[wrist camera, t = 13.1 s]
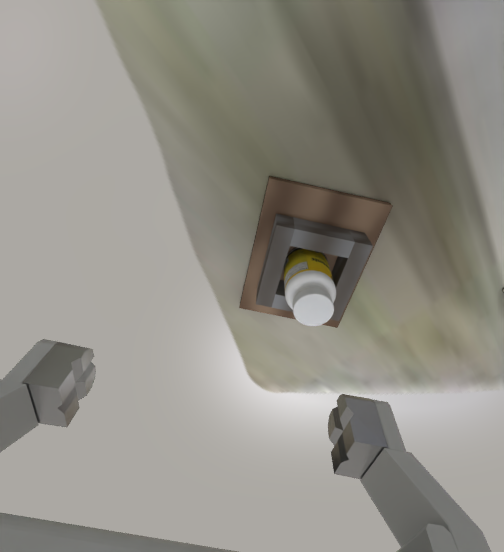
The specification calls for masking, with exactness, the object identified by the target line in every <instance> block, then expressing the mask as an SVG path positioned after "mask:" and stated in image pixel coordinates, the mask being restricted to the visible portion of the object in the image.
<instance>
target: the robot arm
mask: <svg viewBox="0 0 504 552" xmlns="http://www.w3.org/2000/svg"><path fill="white" fill-rule="evenodd" d="M93 357H94V354H93V350H92V349H90V348H85V347H80V346H76V345H71V344H66V343H61V342H56V341H51V340H45V339H43V340H41V341H39V342H37V343H36V345H34V347H33V348H32V349H31V350H30V351H29V352H28V353H27V354H26V355H25V356H24V357H23V358H22V360H20V362H19V363H18V364H17V365H16V366H15V367H14V368H13V369H12V370H11V371H10V372H9V373H8V374H7V375H6V377H5V378H4V379H3V380H1V379H0V452H1V451H3V450H4V449H6V448H7V447H8V446H10V445H11V444H12V443H14V442H15V441H17V440H18V439H19V438H21V437H22V436H23V435H25V434H26V433H28V432H29V431H30V430H32V429H33V428H35V427H36V426H38V423H41V424H48V425H55V426H62V427H68V425H69V424H70V422H71V420H72V418H73V417H74V416H75V414H76V412H77V410H78V409H79V403H78V400H80V399H82V398H83V397H85V396H87V394H88V393H89V391H90V389H91V388H92V384H93V382H94V379H95V374H96V369H95V366H94V364H93V363H92V362H91V360H92V359H93ZM337 405H338V407H336V408H334V409H332V411H331V413H330V416H329V422H328V434H329V439H330V440H331V442H332V443H333V444H334V448H333V450H332V452H331V456H332V462H333V469H334V474H337V475H342V476H348V477H352V478H358V479H361V483H362V484H363V486H364V488H365V489H366V491H367V492H368V494H369V496H370V497H371V499H372V501H373V502H374V504H375V505H376V507H377V509H378V510H379V512H380V514H381V515H382V517H383V518H384V520H385V522H386V523H387V525H388V526H389V528H390V530H391V531H392V533H393V535H394V536H395V538H396V539H397V541H398V543H399V544H400V546H401V548H400V549H399V550H398V551H397V552H491V550H490V548H489V546H488V544H487V541H486V539H485V537H484V535H483V532H482V531H481V530H480V529H479V527H478V526H477V525H476V524H475V523H474V522H473V521H472V520H471V519H470V517H469V516H468V515H467V514H466V513H465V512H464V511H463V510H462V509H461V507H460V506H459V505H457V503H456V502H455V501H454V500H453V499H452V498H451V496H450V495H449V494H448V493H447V492H446V491H445V490H444V489H443V488H442V486H441V485H440V484H439V483H438V482H437V481H436V480H435V479H434V478H433V476H431V474H430V473H429V472H428V471H427V470H426V469H425V468H424V467H423V465H421V463H420V462H419V461H418V460H417V459H416V458H415V457H414V455H413V454H412V453H410V452H406V449H405V447H404V444H403V441H402V438H401V435H400V433H399V429H398V427H397V424H396V421H395V418H394V415H393V412H392V410H391V407H390V405H389V404H388V402H383V401H377V400H371V399H368V398H362V397H356V396H350V395H345V394H342V395H340V396H339V398H338V400H337ZM0 552H237V551H231V550H225V549H218V548H212V547H206V546H200V545H194V544H188V543H182V542H176V541H170V540H164V539H158V538H152V537H145V536H139V535H133V534H127V533H121V532H115V531H109V530H103V529H97V528H90V527H85V526H79V525H72V524H66V523H60V522H54V521H48V520H42V519H36V518H30V517H24V516H17V515H12V514H5V513H0Z"/></svg>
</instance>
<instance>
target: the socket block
mask: <svg viewBox="0 0 504 552" xmlns="http://www.w3.org/2000/svg"><path fill="white" fill-rule="evenodd" d="M391 208H392V205H391V204H390V203H388V202H383V201H379V200H374V199H370V198H365V197H361V196H356V195H352V194H347V193H343V192H339V191H334V190H330V189H325V188H321V187H316V186H312V185H307V184H303V183H298V182H294V181H289V180H285V179H281V178H276V177H272V176H269V179H268V184H267V188H266V193H265V197H264V201H263V206H262V210H261V215H260V219H259V223H258V228H257V232H256V236H255V241H254V245H253V250H252V254H251V258H250V263H249V267H248V271H247V276H246V280H245V285H244V289H243V293H242V298H241V302H240V308H243V309H248V310H253V311H258V312H262V313H267V314H272V315H277V316H282V317H287V318H292V319H296V318H295V316H294V314H293V310H292V309H291V308H290V307H289V305H288V303H287V301H286V298H285V285H284V264H285V260H286V257H287V255H288V253H289V252H290V251H292V250H293V249H295V248H297V247H298V248H303V249H307V250H312V251H317V252H321V253H324V255H325V256H326V258H327V261H328V264H329V268H330V271H331V274H332V277H333V281H334V283H335V288H336V298H335V301H334V303H333V305H334V312H333V315H332V317H331V318H330V319H329V320H328V321H327V322H326V323H324V324H322V325H327V326H332V327H338V325H339V323H340V321H341V319H342V316H343V314H344V312H345V310H346V308H347V305H348V303H349V301H350V299H351V297H352V294H353V292H354V290H355V288H356V286H357V283H358V281H359V279H360V277H361V275H362V272H363V270H364V268H365V266H366V264H367V261H368V259H369V257H370V255H371V253H372V250H373V248H374V246H375V244H376V242H377V239H378V237H379V235H380V233H381V230H382V228H383V226H384V224H385V222H386V219H387V217H388V215H389V213H390V211H391Z"/></svg>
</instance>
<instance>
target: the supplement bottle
mask: <svg viewBox="0 0 504 552" xmlns="http://www.w3.org/2000/svg"><path fill="white" fill-rule="evenodd" d="M284 285H285V298H286V301H287V303H288V305H289V307H290V308H291V309H292V310H293V314H294V316H295V318H296V319H297V320H298V321H299V322H300V323H302V324H304V325H307V326H319V325H322V324H324V323H326V322H327V321H328V320H329V319H330V318H331V317H332V315H333V312H334V305H333V303H334V301H335V298H336V288H335V283H334V281H333V277H332V274H331V271H330V268H329V264H328V261H327V258H326V256H325V255H324V253H321V252H317V251H312V250H307V249H303V248H298V247H297V248H295V249H293V250H292V251H290V252H289V253H288V255H287V257H286V260H285V264H284Z"/></svg>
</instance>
